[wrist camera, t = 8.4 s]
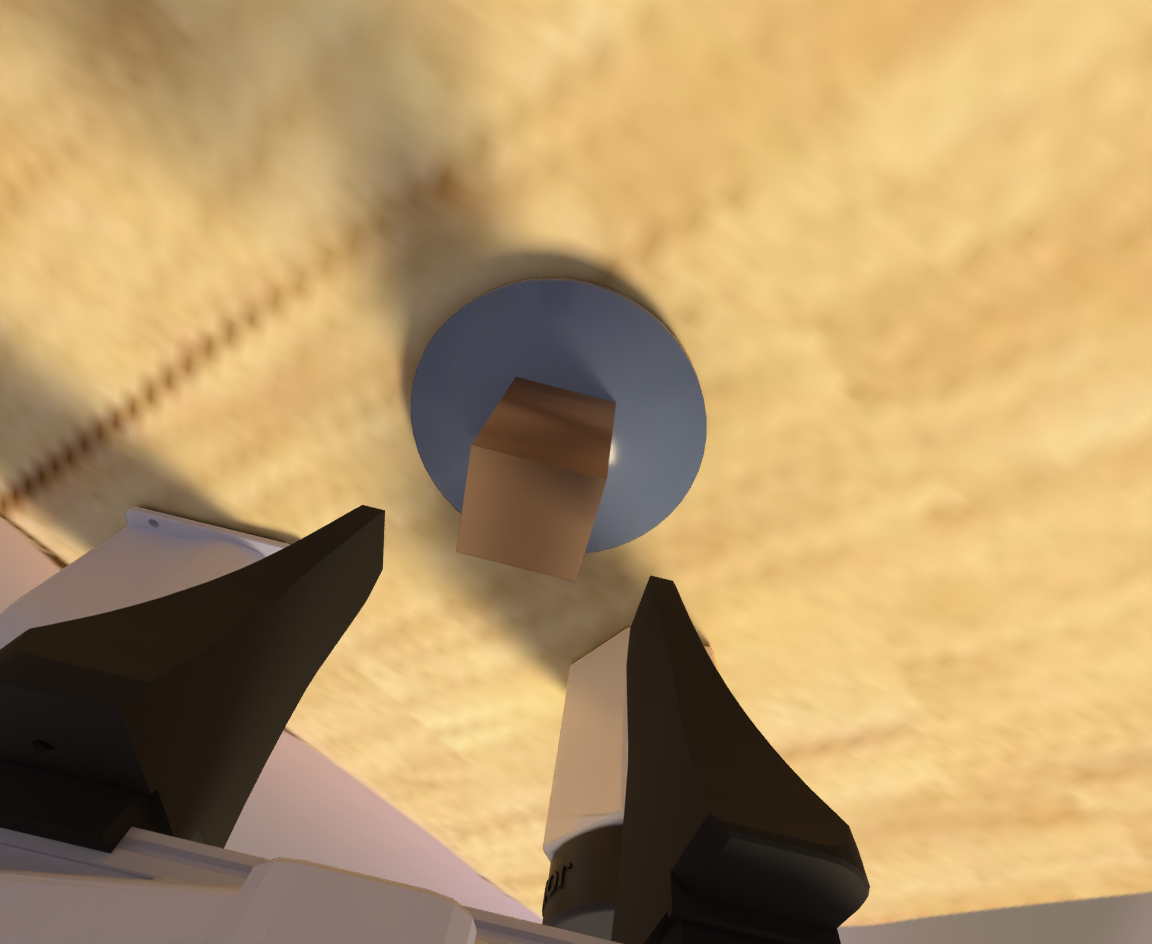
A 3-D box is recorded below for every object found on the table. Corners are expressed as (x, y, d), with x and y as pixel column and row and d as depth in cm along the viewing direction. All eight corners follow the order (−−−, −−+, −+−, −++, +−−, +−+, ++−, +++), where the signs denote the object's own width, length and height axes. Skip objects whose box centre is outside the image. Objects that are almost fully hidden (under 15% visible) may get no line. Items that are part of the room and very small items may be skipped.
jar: (554, 634, 28) (501, 902, 18) (706, 613, 26) (748, 899, 16) (599, 738, 32) (577, 1007, 22) (735, 727, 30) (783, 1016, 20)
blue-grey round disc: (411, 506, 25) (403, 518, 24) (430, 240, 19) (420, 243, 18) (655, 566, 25) (655, 580, 24) (749, 320, 19) (755, 327, 18)
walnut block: (500, 464, 22) (456, 551, 17) (515, 376, 20) (471, 445, 15) (591, 487, 22) (576, 582, 17) (616, 402, 20) (607, 479, 15)
